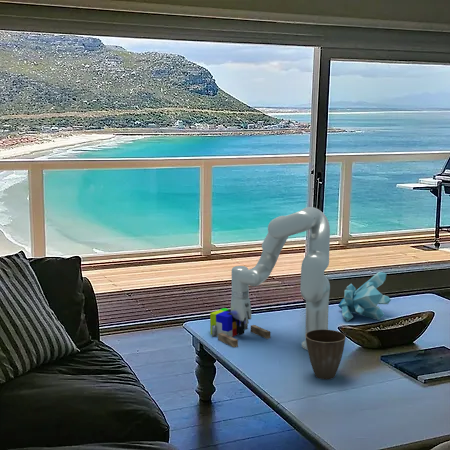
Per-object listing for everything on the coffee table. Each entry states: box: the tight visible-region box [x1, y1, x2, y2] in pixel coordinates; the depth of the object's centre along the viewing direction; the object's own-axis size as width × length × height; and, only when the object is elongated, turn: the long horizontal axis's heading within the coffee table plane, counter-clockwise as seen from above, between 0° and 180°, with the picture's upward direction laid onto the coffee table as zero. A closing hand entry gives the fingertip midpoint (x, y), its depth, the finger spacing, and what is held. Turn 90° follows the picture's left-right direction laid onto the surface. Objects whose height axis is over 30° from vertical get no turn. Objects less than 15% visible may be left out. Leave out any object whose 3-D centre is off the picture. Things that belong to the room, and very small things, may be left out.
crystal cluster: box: [338, 271, 392, 322], centre depth 315 cm, size 22×26×21 cm
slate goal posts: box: [211, 323, 249, 338], centre depth 298 cm, size 2×20×5 cm, turn 125°
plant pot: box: [306, 329, 346, 381], centre depth 247 cm, size 15×15×16 cm
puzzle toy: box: [209, 307, 238, 338], centre depth 296 cm, size 10×10×10 cm
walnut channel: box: [217, 324, 272, 348], centre depth 289 cm, size 12×20×3 cm, turn 125°
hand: (240, 333), depth 291 cm, fingers closed
